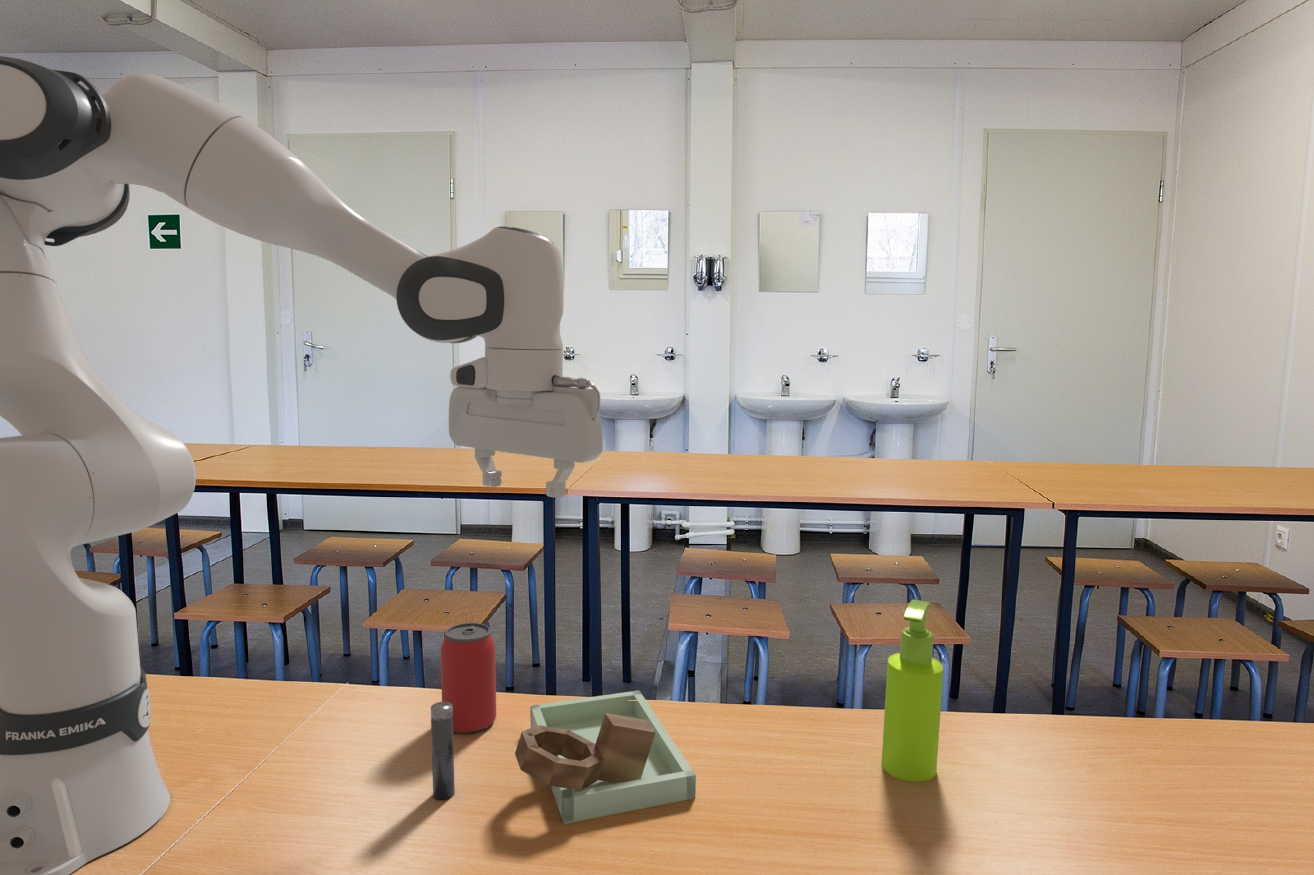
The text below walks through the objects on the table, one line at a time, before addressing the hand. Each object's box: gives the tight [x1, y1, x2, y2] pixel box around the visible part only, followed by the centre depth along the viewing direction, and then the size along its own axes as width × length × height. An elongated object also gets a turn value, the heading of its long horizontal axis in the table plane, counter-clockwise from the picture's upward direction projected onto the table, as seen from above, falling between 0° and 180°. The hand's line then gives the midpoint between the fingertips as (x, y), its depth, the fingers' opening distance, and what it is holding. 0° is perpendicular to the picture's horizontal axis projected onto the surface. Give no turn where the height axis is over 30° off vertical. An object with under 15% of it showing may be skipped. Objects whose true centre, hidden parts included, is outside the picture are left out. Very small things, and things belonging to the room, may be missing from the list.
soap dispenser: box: [881, 599, 944, 783], centre depth 86 cm, size 6×7×20 cm
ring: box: [514, 713, 656, 790], centre depth 82 cm, size 8×13×6 cm, turn 110°
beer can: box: [440, 622, 497, 734], centre depth 97 cm, size 7×7×12 cm
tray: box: [529, 690, 697, 825], centre depth 89 cm, size 14×20×3 cm
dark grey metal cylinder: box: [430, 701, 456, 802], centre depth 82 cm, size 2×2×10 cm
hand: (523, 491), depth 92 cm, fingers open, 8 cm apart
